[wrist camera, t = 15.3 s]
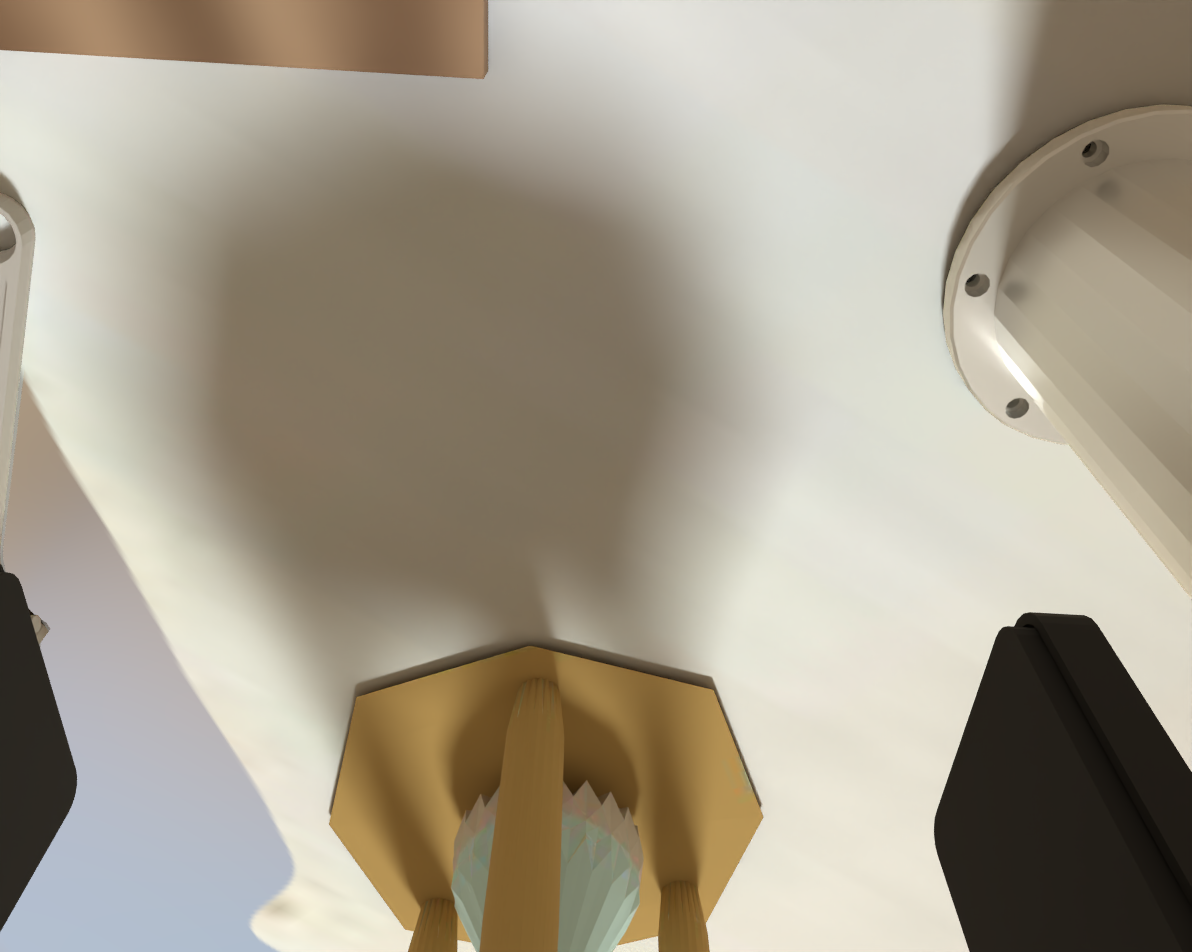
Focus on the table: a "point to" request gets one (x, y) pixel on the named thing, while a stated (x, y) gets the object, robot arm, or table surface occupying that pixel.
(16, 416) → the adjustable wrench
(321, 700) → the table surface
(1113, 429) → the robot arm
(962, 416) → the table surface
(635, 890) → the hourglass
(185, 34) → the walnut board
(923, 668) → the table surface
